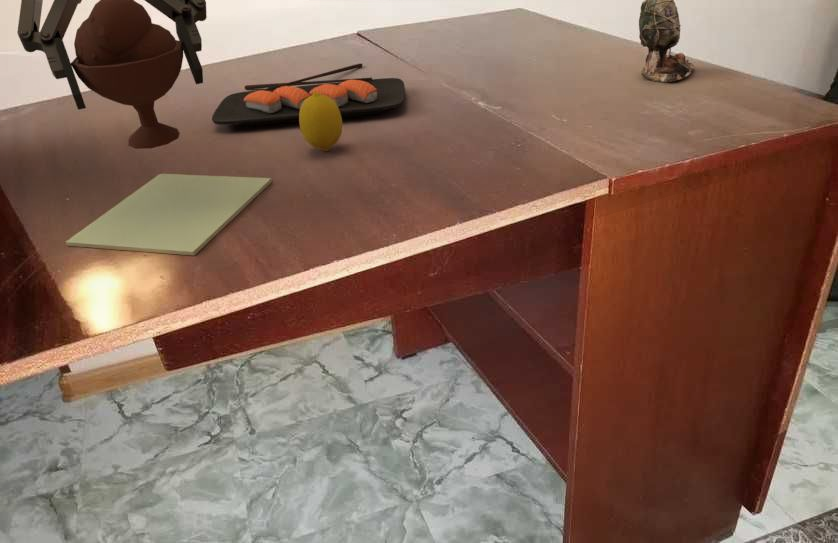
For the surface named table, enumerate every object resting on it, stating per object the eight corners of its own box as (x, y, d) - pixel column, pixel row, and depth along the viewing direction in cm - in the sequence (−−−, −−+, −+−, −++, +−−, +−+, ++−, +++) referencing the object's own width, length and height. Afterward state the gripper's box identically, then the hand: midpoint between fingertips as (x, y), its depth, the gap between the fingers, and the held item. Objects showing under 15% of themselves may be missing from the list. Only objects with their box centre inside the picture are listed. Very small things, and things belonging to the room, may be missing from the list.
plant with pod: (616, 78, 109) (625, -63, 98) (668, 63, 113) (681, -74, 103) (657, 90, 103) (671, -59, 92) (709, 72, 107) (728, -71, 97)
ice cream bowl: (224, 124, 78) (190, -17, 71) (155, 164, 70) (107, 7, 62) (153, 118, 83) (113, -17, 75) (80, 154, 74) (26, 7, 66)
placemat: (66, 245, 76) (65, 241, 76) (161, 176, 90) (160, 173, 90) (194, 255, 72) (193, 251, 71) (272, 181, 86) (271, 178, 86)
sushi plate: (209, 136, 102) (203, 110, 100) (245, 77, 128) (241, 56, 126) (406, 117, 102) (404, 91, 100) (403, 62, 127) (401, 40, 125)
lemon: (354, 146, 94) (346, 87, 90) (327, 161, 90) (317, 101, 86) (323, 140, 97) (313, 83, 92) (296, 155, 93) (285, 96, 89)
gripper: (188, -75, 82) (252, 84, 78) (-33, -45, 74) (25, 134, 70) (185, -127, 76) (254, 44, 72) (-59, -101, 67) (3, 95, 63)
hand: (141, 89), depth 71 cm, fingers closed on ice cream bowl, 11 cm apart
